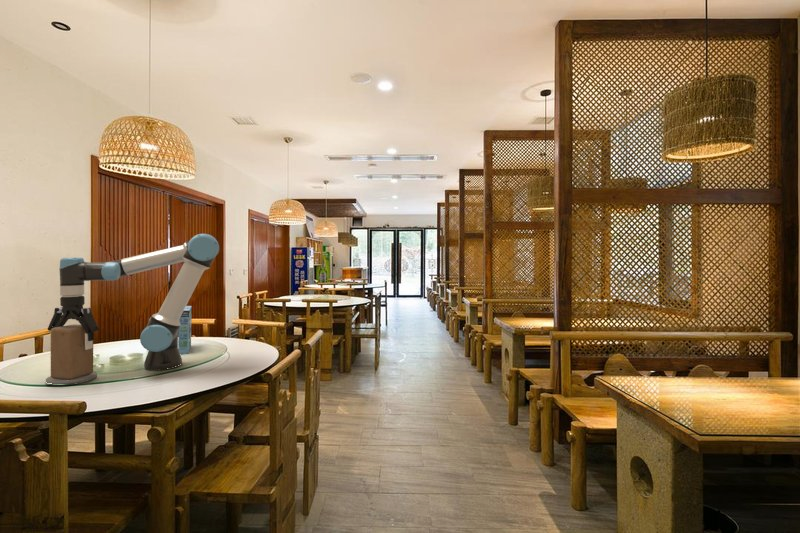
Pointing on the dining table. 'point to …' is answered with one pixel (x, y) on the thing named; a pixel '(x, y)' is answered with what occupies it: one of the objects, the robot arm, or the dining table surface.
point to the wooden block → (70, 353)
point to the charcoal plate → (72, 381)
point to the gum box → (185, 331)
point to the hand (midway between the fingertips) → (73, 348)
